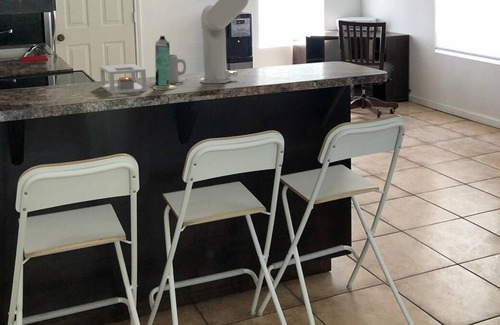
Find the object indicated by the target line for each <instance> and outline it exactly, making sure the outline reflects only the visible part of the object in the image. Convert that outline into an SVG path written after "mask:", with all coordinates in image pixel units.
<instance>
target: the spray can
mask: <svg viewBox="0 0 500 325" xmlns="http://www.w3.org/2000/svg"><path fill="white" fill-rule="evenodd" d="M154 47H155V55H154V56H155V60H154V61H155V71H154V74H155V86H156V87H158V88H168V87H169V85H170V83H169V55H170V51H171V50H170V47H171V46H170V41H168V40H167V39H166V37H165V35H160V37H159V39H157V41H155V45H154Z"/></svg>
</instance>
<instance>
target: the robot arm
mask: <svg viewBox="0 0 500 325" xmlns="http://www.w3.org/2000/svg"><path fill="white" fill-rule="evenodd" d="M248 4H249V0H217V1H216V3H213V4H212V3H211V4H209V5H206V6H205V7H204V8H203V10H202V12H201V16H200V20H201V21H200V22H201V31H202V32H201V33H202V46H203V47H202V54H203V55H202V56H203V60H202V61H203V77H202V78H200V79H199V80H200V82H201V83H202V84H203V83H204V84H226V83H230V82H231V77H237V76H238V71H237V70H236V71H234V70H233V71H230V70H228V69H227V38H226V37H227V36H226V27H227V26H229V24H230V23H232V21H234V19H236V18H237V17H238V16H239V15H240V13H241V12H243V11H244V10H245V8H246V7H247V5H248Z"/></svg>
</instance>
